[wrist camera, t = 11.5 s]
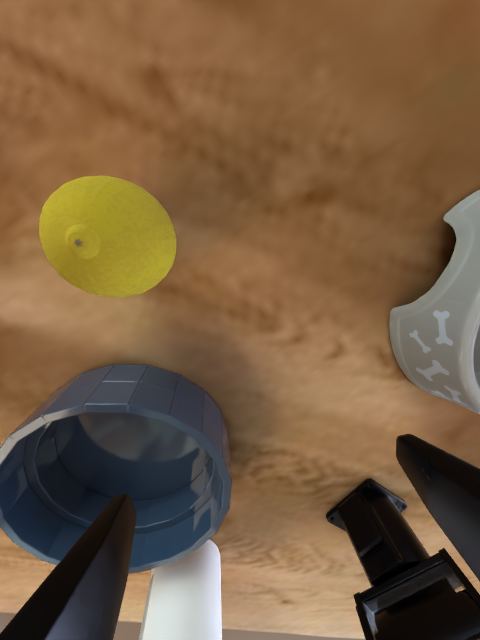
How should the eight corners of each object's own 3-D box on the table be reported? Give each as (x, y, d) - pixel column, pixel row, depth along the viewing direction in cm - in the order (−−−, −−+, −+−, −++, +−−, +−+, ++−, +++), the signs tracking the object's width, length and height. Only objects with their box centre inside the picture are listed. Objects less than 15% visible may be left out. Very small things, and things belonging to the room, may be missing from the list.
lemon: (118, 291, 17) (42, 335, 10) (79, 206, 15) (-52, 176, 8) (195, 269, 17) (181, 294, 10) (166, 181, 15) (119, 126, 8)
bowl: (262, 424, 22) (276, 476, 17) (161, 527, 25) (148, 596, 20) (106, 323, 18) (66, 355, 13) (5, 460, 20) (-58, 527, 16)
